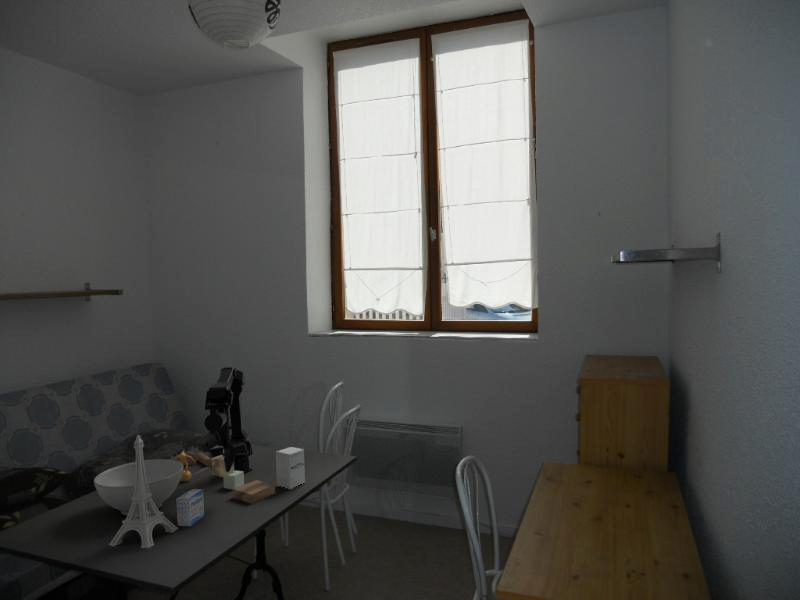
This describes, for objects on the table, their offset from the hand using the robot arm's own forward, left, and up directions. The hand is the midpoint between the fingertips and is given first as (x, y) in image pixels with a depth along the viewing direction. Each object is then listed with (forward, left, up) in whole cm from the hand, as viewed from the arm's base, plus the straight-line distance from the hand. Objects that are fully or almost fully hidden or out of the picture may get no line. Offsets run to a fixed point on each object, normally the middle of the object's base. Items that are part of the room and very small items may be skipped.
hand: (223, 470), depth 189 cm
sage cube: (-10, +11, -11) cm, 19 cm away
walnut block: (+4, +9, -11) cm, 15 cm away
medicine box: (+4, -15, -11) cm, 19 cm away
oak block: (0, 0, -1) cm, 1 cm away
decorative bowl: (-20, -18, -11) cm, 29 cm away
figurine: (-30, +4, -11) cm, 32 cm away
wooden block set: (-41, +21, -12) cm, 48 cm away
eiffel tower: (+2, -29, -11) cm, 31 cm away
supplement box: (+7, +23, -11) cm, 26 cm away
